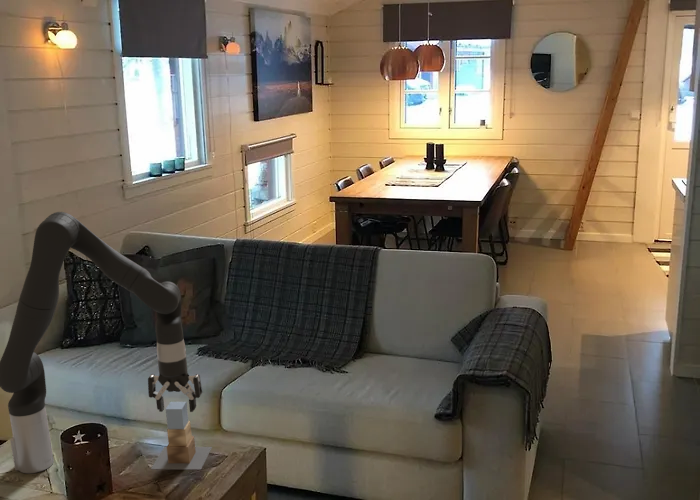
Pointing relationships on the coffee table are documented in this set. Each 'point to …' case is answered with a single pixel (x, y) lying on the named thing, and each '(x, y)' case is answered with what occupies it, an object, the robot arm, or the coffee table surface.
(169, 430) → the oak top block
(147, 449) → the coffee table surface
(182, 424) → the light grey box block
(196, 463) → the felt mat
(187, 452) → the walnut base block
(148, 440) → the coffee table surface
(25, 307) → the robot arm
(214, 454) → the coffee table surface
